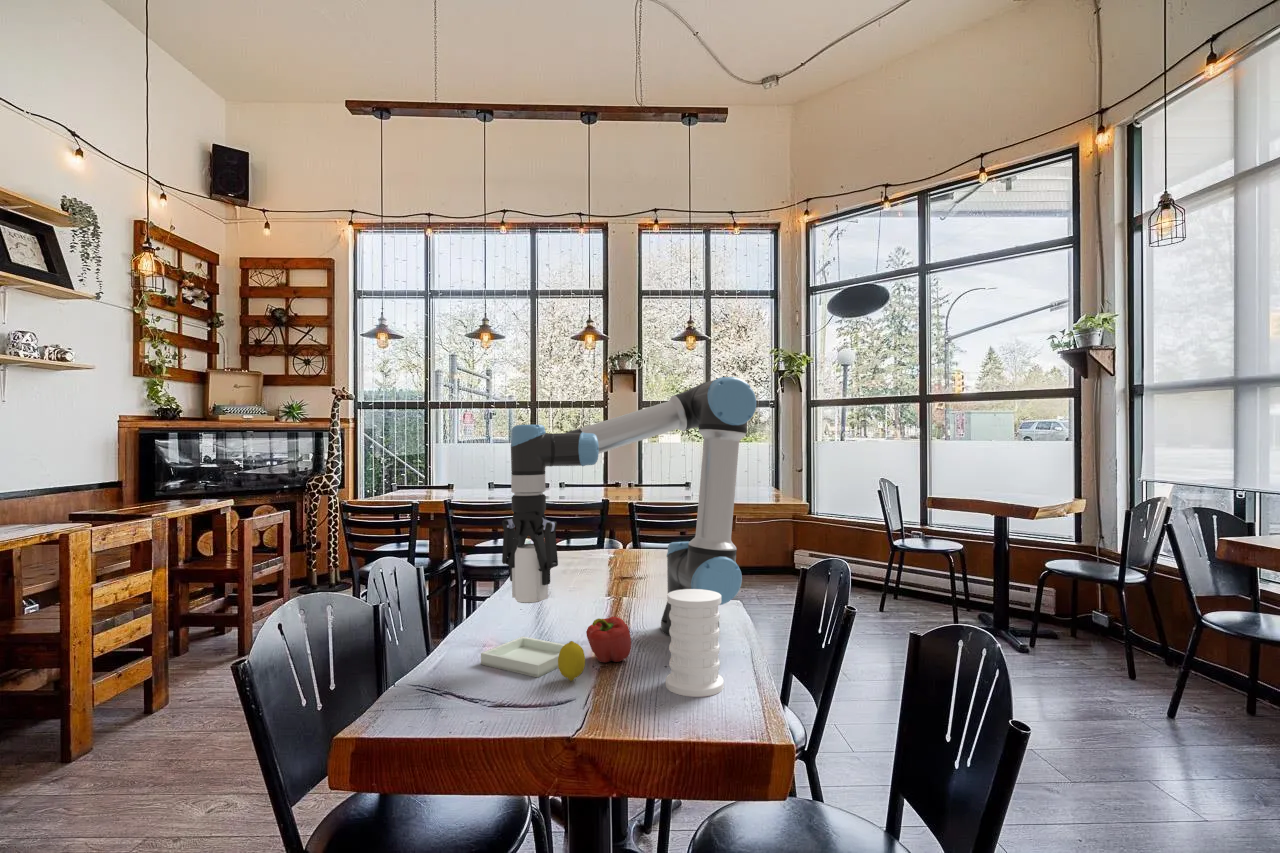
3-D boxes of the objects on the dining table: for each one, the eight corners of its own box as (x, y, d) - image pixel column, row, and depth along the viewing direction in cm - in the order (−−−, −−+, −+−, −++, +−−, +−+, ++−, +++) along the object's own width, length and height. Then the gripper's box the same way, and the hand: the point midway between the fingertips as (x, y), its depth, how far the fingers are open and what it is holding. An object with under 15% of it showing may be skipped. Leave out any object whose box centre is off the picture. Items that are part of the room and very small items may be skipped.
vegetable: (610, 672, 133) (610, 624, 134) (574, 662, 140) (574, 617, 140) (641, 658, 142) (641, 614, 142) (606, 649, 148) (606, 607, 149)
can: (546, 595, 143) (545, 542, 144) (543, 603, 137) (542, 547, 137) (517, 596, 143) (516, 543, 143) (513, 604, 136) (512, 548, 137)
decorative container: (720, 675, 132) (720, 588, 132) (726, 697, 120) (726, 602, 121) (665, 674, 132) (665, 588, 133) (666, 696, 120) (665, 601, 121)
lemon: (555, 677, 130) (555, 638, 131) (581, 674, 132) (581, 636, 133) (561, 687, 125) (561, 646, 125) (588, 683, 127) (588, 643, 127)
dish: (577, 657, 143) (577, 646, 143) (538, 677, 130) (538, 665, 131) (522, 646, 151) (522, 636, 151) (480, 664, 138) (480, 653, 138)
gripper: (574, 493, 139) (575, 598, 139) (506, 491, 148) (507, 590, 148) (553, 496, 133) (555, 606, 132) (484, 494, 142) (485, 597, 141)
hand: (530, 597), depth 140 cm, fingers closed on can, 6 cm apart
